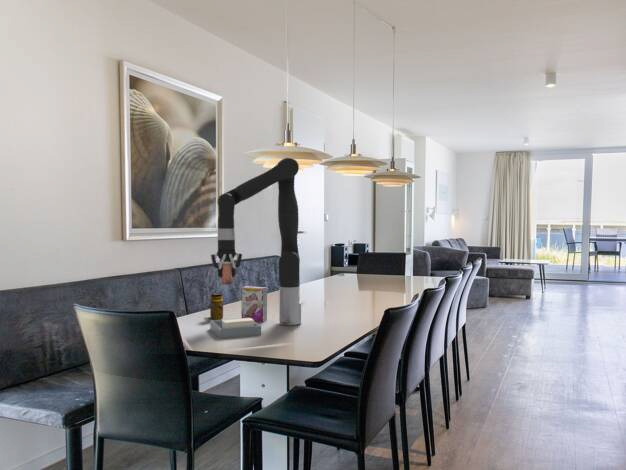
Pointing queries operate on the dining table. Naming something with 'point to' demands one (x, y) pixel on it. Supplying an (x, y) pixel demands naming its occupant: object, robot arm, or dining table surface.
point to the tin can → (226, 273)
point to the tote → (234, 330)
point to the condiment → (216, 307)
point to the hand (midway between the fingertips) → (226, 276)
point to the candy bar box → (254, 303)
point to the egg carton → (237, 323)
